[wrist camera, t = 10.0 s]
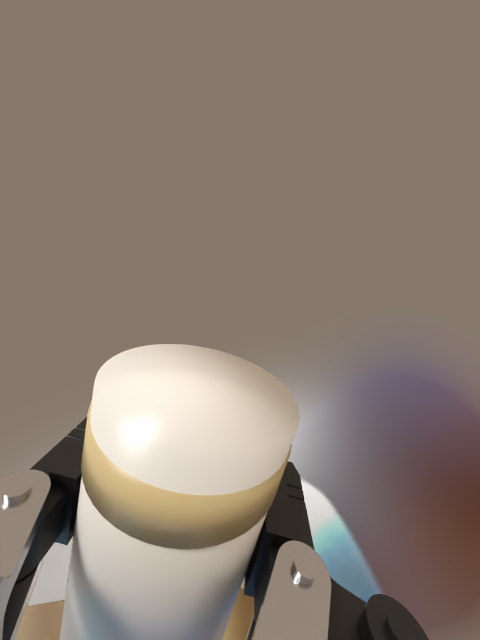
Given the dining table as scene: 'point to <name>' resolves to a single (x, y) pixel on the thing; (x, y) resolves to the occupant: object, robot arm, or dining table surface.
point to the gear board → (46, 619)
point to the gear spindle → (173, 492)
